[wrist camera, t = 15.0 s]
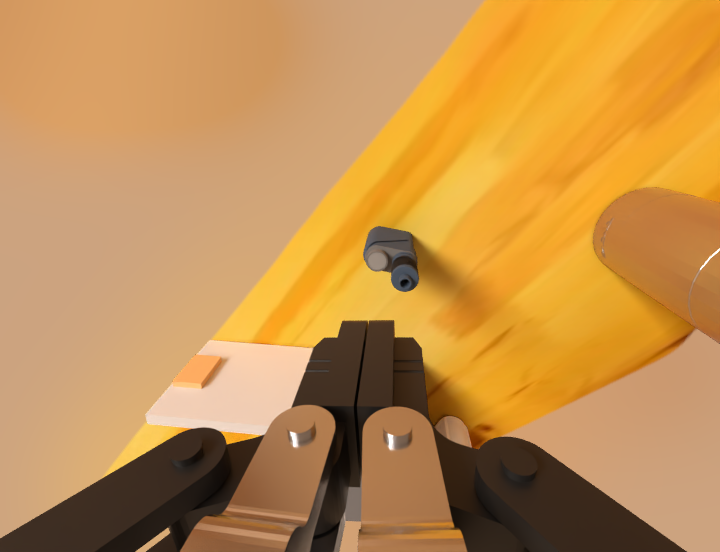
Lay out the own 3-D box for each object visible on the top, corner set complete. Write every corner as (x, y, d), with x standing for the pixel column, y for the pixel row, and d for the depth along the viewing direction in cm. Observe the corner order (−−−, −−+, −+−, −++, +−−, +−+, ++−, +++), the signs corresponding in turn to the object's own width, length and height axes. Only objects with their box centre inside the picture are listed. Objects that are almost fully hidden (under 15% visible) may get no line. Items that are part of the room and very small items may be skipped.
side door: (334, 358, 48) (313, 440, 36) (210, 348, 49) (147, 424, 37) (335, 345, 47) (312, 424, 35) (208, 335, 48) (143, 408, 36)
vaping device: (411, 253, 42) (416, 300, 31) (366, 244, 42) (355, 287, 31) (416, 232, 41) (424, 272, 30) (370, 222, 41) (360, 259, 30)
